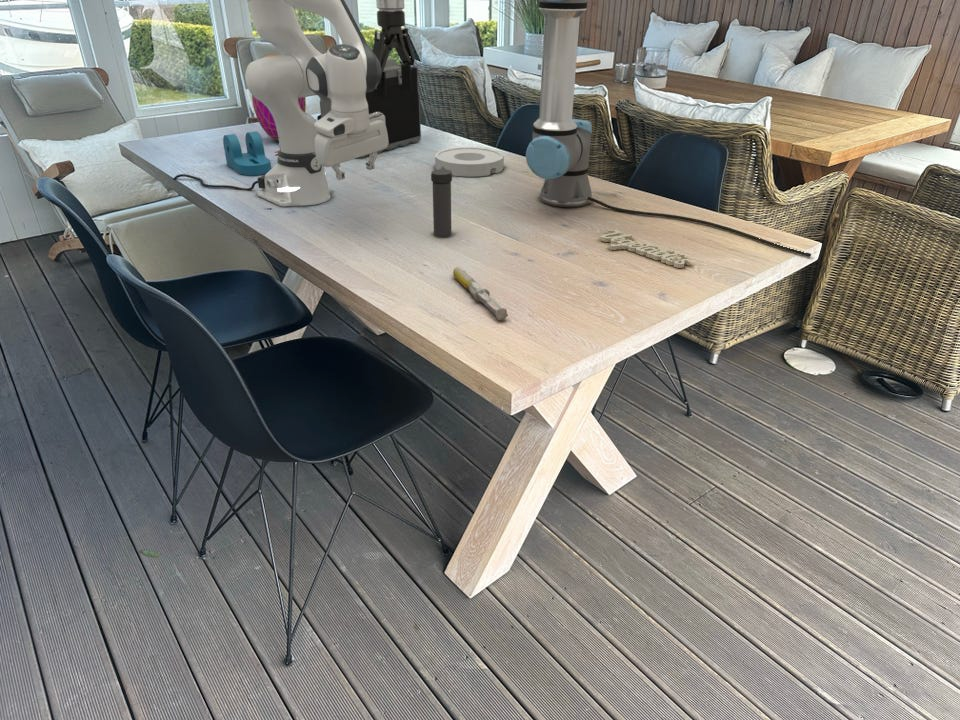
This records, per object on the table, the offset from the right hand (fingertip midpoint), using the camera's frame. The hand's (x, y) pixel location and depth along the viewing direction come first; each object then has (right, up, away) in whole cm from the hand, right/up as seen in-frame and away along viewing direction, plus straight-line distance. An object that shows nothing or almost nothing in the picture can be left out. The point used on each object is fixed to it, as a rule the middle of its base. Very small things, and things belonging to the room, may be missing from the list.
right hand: (394, 93), depth 197 cm
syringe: (+24, -63, -52) cm, 85 cm away
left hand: (-7, -29, -22) cm, 38 cm away
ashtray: (+21, -11, +37) cm, 44 cm away
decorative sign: (+64, -50, -28) cm, 86 cm away
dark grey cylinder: (+15, -44, -19) cm, 50 cm away
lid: (+15, -30, -27) cm, 44 cm away
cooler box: (-16, +4, +61) cm, 64 cm away
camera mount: (-52, -13, +32) cm, 63 cm away
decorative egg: (-51, +8, +68) cm, 85 cm away
